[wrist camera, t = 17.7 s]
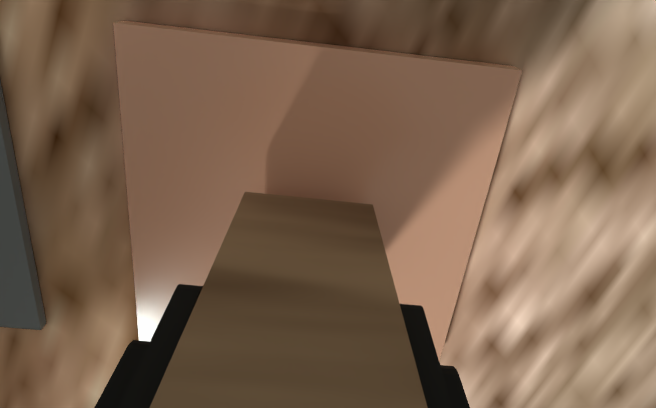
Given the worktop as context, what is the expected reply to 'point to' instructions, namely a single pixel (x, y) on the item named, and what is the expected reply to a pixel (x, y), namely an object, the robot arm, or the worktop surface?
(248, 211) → the walnut block
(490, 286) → the worktop surface
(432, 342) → the robot arm
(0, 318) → the mat
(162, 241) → the pad
